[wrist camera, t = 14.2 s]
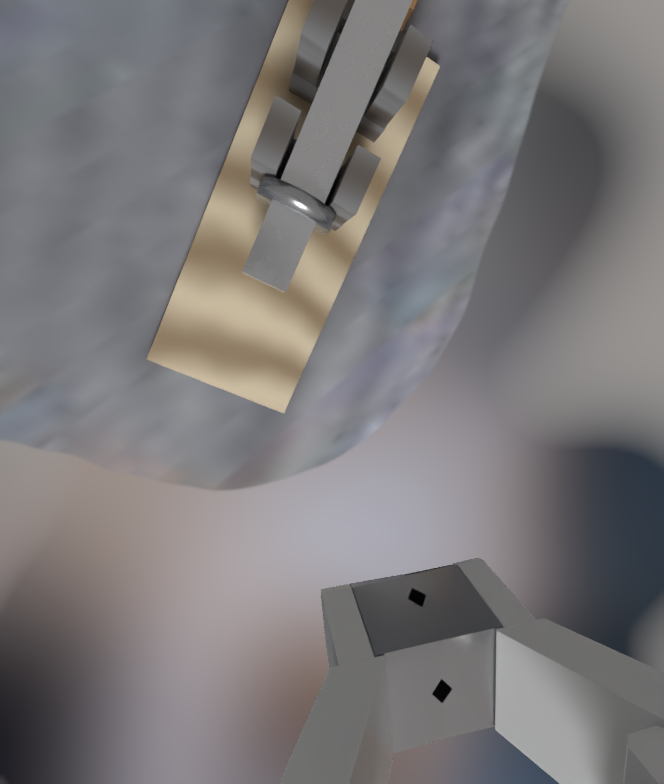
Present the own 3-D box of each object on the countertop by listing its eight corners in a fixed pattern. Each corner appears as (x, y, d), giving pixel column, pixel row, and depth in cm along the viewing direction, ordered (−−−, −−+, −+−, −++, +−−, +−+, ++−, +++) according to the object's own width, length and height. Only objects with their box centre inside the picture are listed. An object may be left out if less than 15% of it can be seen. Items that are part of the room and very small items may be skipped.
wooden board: (282, 410, 42) (291, 442, 33) (149, 357, 38) (118, 377, 29) (434, 73, 37) (493, 2, 28) (299, -20, 34) (316, -133, 25)
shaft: (295, 298, 36) (304, 300, 30) (228, 267, 35) (223, 262, 29) (410, 36, 33) (443, -17, 28) (342, -11, 32) (362, -78, 26)
